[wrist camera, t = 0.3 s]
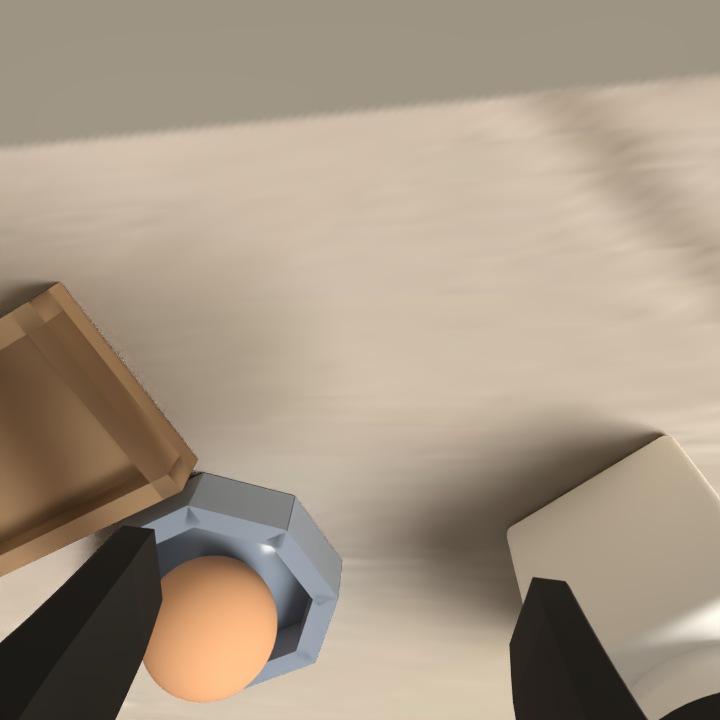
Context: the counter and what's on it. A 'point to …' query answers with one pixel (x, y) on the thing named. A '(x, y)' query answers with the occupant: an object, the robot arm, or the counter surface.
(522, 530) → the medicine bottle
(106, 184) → the counter surface
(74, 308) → the tray
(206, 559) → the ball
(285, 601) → the ramekin
